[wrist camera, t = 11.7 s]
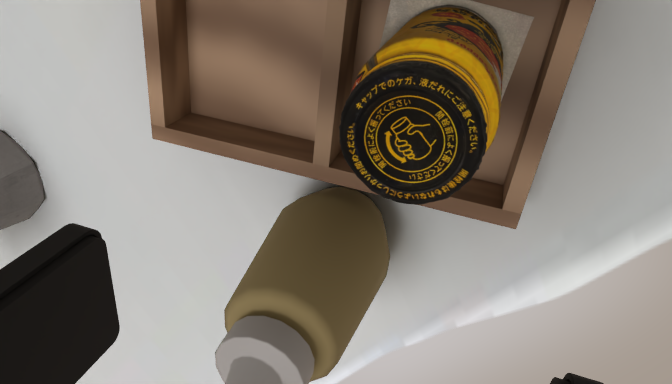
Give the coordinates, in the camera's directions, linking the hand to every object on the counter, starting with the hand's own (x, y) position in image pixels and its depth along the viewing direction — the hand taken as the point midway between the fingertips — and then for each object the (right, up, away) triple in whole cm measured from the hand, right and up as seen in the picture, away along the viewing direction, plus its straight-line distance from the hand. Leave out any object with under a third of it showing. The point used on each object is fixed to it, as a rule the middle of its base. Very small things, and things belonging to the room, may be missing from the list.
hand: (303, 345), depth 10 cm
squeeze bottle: (+1, +1, +25) cm, 26 cm away
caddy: (+1, +11, +20) cm, 23 cm away
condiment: (+6, +10, +18) cm, 21 cm away
